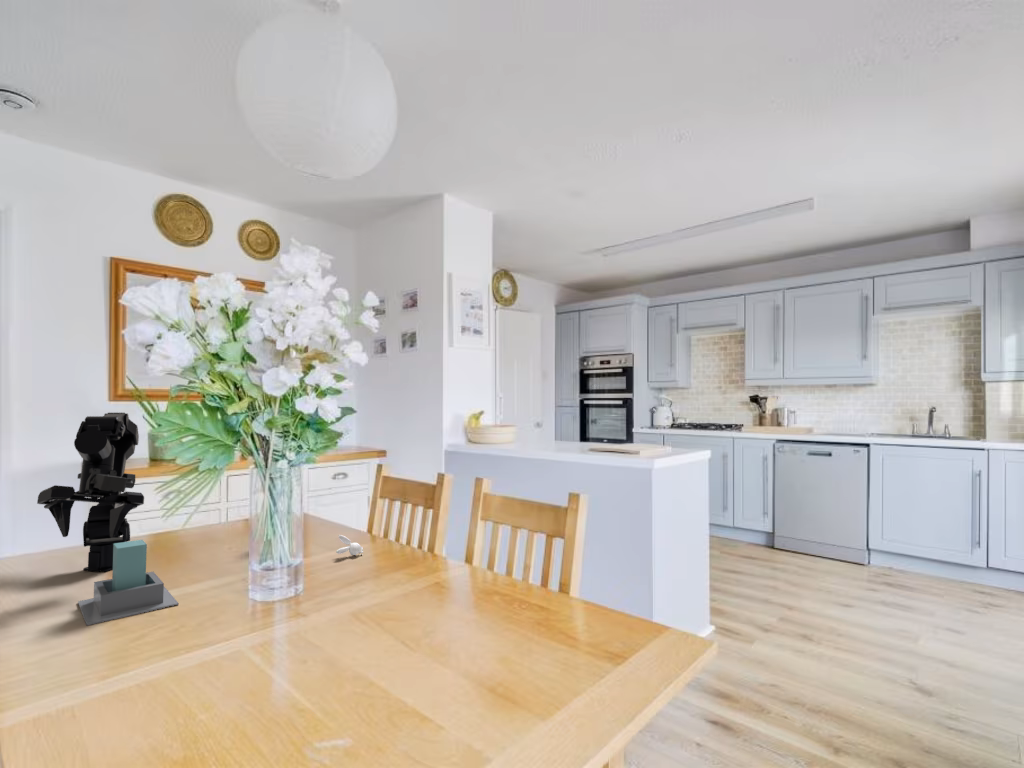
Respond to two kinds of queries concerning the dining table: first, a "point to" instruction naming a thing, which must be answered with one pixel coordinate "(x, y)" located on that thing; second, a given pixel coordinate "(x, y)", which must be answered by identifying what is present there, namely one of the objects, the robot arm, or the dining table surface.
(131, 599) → the well
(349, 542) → the rabbit figurine
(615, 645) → the dining table surface
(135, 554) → the teal block
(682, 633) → the dining table surface
